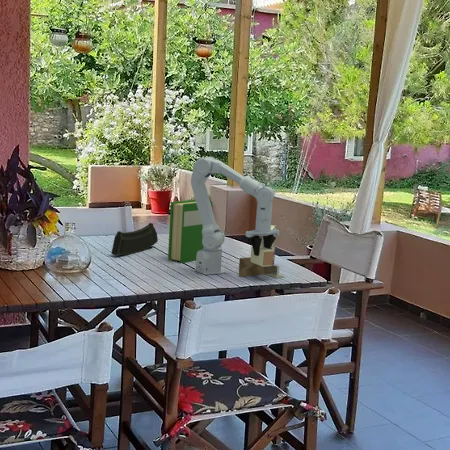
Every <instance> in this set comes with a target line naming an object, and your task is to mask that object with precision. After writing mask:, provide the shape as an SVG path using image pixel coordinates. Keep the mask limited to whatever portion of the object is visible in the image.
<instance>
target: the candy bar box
mask: <svg viewBox="0 0 450 450" xmlns="http://www.w3.org/2000/svg"><path fill="white" fill-rule="evenodd" d="M271 230H277V225H272V224H271ZM274 236H275V237H276V238H277V235H274ZM260 238H261V239H262V241H261V245H260V246H262V247H264V241H263V236H260ZM276 241H277V239H275V241H274V242H273V244H272V246H271V248H270V249H271V250H273V259H272V264H273V265H275V260H276V259H275V257H276V254H275V253H276Z"/></svg>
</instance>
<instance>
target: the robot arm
mask: <svg viewBox="0 0 450 450" xmlns="http://www.w3.org/2000/svg"><path fill="white" fill-rule="evenodd" d="M213 174H221V175H223V176H224V177H226V178H228V179H230V180H231V181H233V182H235V183H236V184H239V189H241V190H242V191H243V192H246V193H247V194H249V195H250V196H252V197H254V198H256V202H257V204H256V205H257V206H256V213H255V214H256V216H255V229H253V230H248V231H245V237H247V238H248V239H249V241H250V243H251V245H252V246H253V251H254V255H256V256H259V252H260V246H261V241H262V239H261V236H263V241H264V247H265V248H268V249H270V248H271V246H272V244H273V242H274V241H275V239H276V238H277V237H279V236H280V230H279V229H276V230H271V225H272V217H273V216H272V215H273V200H274V198H275V190H274V189H273V188H272V187H271V186H268V185H266V184H265V183H263V182H262V183H261V182H260V181H259V180H256V179H255V176H253V175H251V176H250V175H245V176H244V175H242V174H241V173H240V172H238V171H236V170H235V169H233V168H232V167H230V166H229V165H227V164H226V163H225V162H224V161H223V162H222V161H221V160H219V159H216V158H215V157H214V156H207V157H199V158H198V159H197V160H196V161H195V162H194V164H193V165H192V173H191V177H190V185H191V186H190V187H191V189H192V192H193V196H194V200H196V204H197V207H198V211H199V215H200V218H201V222H202V225H203V229H202V235H203V239H202V244H203V246H204V248H203V250H200V251H198V252H197V255H196V261H195V268H194V271H195V272H198V273H199V274H202V275H206V276H207V275H218V274H226V271H225V270H222V258H223V247H222V245H223V244H224V242H225V235H224V233H223V232H222V231H221V230H220V229H221V228H220V226H219V224H217V222H216V219H215V215H214V212H213V206H212V207H211V203H210V201H211V200H210V197H209V193H208V190H207V187H206V183H207V181H208V179H209V177H210V176H211V175H213ZM274 235H276V237H275V236H274ZM276 240H277V239H276Z"/></svg>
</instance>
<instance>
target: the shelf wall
mask: <svg viewBox="0 0 450 450" xmlns="http://www.w3.org/2000/svg"><path fill="white" fill-rule="evenodd" d="M250 259H251V256H250V257H249V256H248V257H239V264H238V268H239V269H238V277H240V278H242V277H250V276H252V277H253V276H261V275H266V274H265V268H266V267H263V266H260V265H257V264H255V263H252V262H250Z"/></svg>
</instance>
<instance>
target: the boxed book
mask: <svg viewBox="0 0 450 450" xmlns="http://www.w3.org/2000/svg"><path fill="white" fill-rule="evenodd" d="M250 257H251V259H250V262H252V263H255V264H257V265H260V266H263V267H266V266H272V259H273V250H271V249H268V248H265V247H262V246H261V245H260V252H259V256H256V255H254V251H253V246H251V248H250Z"/></svg>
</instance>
